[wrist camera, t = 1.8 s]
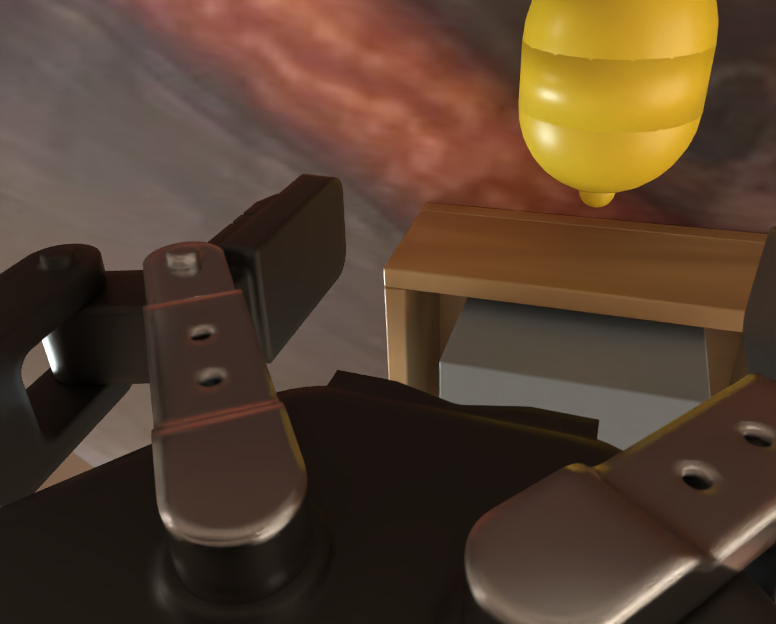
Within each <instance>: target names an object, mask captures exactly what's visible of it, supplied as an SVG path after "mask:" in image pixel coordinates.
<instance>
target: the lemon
mask: <svg viewBox="0 0 776 624" xmlns="http://www.w3.org/2000/svg"><path fill="white" fill-rule="evenodd" d="M718 21H719V20H718V10H717V1H716V0H532V3H531V5H530V8H529V11H528V14H527V17H526V21H525V27H524V34H523V39H522V55H521V72H520V89H519V122H520V126H521V130H522V134H523V138H524V140H525V142H526V144H527V146H528V148H529V150H530V152H531V154H532V156H533V157H534V159H535V160H536V161H537V162H538V164H539V165H540V166H541V167H542V168H543V169H544V170H545V171H546V172H547V173H548V174H550V175H551V176H552V177H554V178H555V179H556V180H558V181H559V182H561V183H563V184H565V185H568V186H570V187H573V188H575V189H578V190H579V195H580V198H581V199H582V201H583V202H584V203H585V204H586V205H588V206H591V207H602V206H605V205H607V204H608V203H609V202H610V201H611V200H612V199H613V197H614V195H615V193H616V192H621V191H625V190H630V189H634V188H637V187H639V186H641V185H643V184H645V183H647V182H649V181H651V180H653V179H655V178H657V177H659V176H660V175H661V174H662V173H664V172H665V171H666V170H667V169H669V168H670V167H671V166H672V165H673V164H674V163H675V162H676V161H677V160H678V159H679V157H680V156H681V155H682V154H683V153H684V151H685V150H686V149H687V148H688V146H689V144H690V142H691V141H692V139H693V137H694V135H695V133H696V131H697V128H698V125H699V122H700V118H701V115H702V113H703V108H704V103H705V98H706V93H707V88H708V83H709V78H710V73H711V68H712V63H713V58H714V53H715V48H716V43H717V31H718Z"/></svg>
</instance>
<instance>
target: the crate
mask: <svg viewBox="0 0 776 624" xmlns="http://www.w3.org/2000/svg"><path fill="white" fill-rule="evenodd" d="M767 236H768V234H761V233H751V232H740V231H729V230H718V229H707V228H697V227H686V226H675V225H664V224H653V223H643V222H632V221H621V220H610V219H600V218H589V217H578V216H567V215H556V214H546V213H535V212H524V211H513V210H502V209H492V208H481V207H470V206H459V205H448V204H438V203H426V204H425V205H424V207H423V208H422V210H421V212H420V214H419V215H418V217H417V218H416V220H415V221H414V223H413V224H412V226H411V227H410V229H409V230H408V232H407V233H406V235H405V236H404V238H403V239H402V241H401V242H400V244H399V245H398V247H397V248H396V250H395V251H394V253H393V254H392V256H391V257H390V259H389V260H388V262H387V263H386V265H385V267H384V285H385V288H384V291H385V312H386V332H387V353H388V373H389V380H393V381H398V382H400V383H403V384H405V385H408V386H411V387H413V388H416V389H418V390H421V391H423V392H426V393H429V394H431V395H434V396H436V397H439V398H440V360H441V357H442V355H443V353H444V350H445V348H446V346H447V343H448V341H449V339H450V336H451V334H452V332H453V329H454V327H455V325H456V322H457V320H458V318H459V315H460V313H461V311H462V309H463V306H464V304H465V302H466V299H467V297H471V298H479V299H487V300H495V301H502V302H510V303H518V304H526V305H533V306H541V307H549V308H557V309H564V310H572V311H580V312H588V313H595V314H603V315H611V316H619V317H626V318H634V319H642V320H650V321H657V322H665V323H673V324H681V325H688V326H696V327H704V329H705V340H706V350H707V361H708V372H709V382H710V393H711V397H713V396H714V395H716V394H718V393H719V392H721V391H723V390H724V389H726V388H728V387H729V386H731V385H733V384H734V383H736V382H738V381H739V380H741V379H743V378H744V377H746V376H748V375H749V374H748V368H747V362H746V356H745V350H744V344H743V335H742V333H743V321H744V315H745V310H746V306H747V302H748V299H749V295H750V292H751V289H752V285H753V282H754V278H755V275H756V272H757V268H758V265H759V262H760V258H761V255H762V252H763V248H764V245H765V242H766V239H767Z"/></svg>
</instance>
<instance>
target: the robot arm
mask: <svg viewBox="0 0 776 624" xmlns="http://www.w3.org/2000/svg"><path fill="white" fill-rule="evenodd" d="M345 256H346V241H345V222H344V202H343V189H342V184H341V182H340V180H339V179H338V178H336V177H327V176H318V175H309V174H302V175H300V176H299V177H298V178H297V179H296V180H295V181H293V182H292V183H291V184H290V185H289V186H287V187H286V188H285V189H284V190H283V191H282V192H280V193H279V194H275V195H273V196H270V197H268V198H265V199H263V200H261V201H258V202H256V203H255V204H254V205H253V206H251V207H250V208H249V209H248V210H246V211H245V212H244V215H240V216H239V217H238V218H237V219H235V220H234V221H233V224H229V225H228V226H227V227H226V228H225V229H223V230H222V231H221V232H220V233H218V234H217V235H216V236H215V237H214V238H212V239H211V240H210V241H209V242H208V243H206V242H181V243H176V244H171V245H168V246H165V247H162V248H160V249H157V250H155V251H154V252H152V253H151V254H149V255H148V256H147V257H146V258H145V260H144V262H143V270H129V271H105V268H104V264H103V260H102V256H101V253H100V251H99V250H98V249H97V248H95V247H93V246H90V245H85V244H64V245H57V246H53V247H49V248H45V249H42V250H39V251H37V252H35V253H32V254H30V255H29V256H27V257H25V258H24V259H22V260H21V261H19V262H18V263H16V264H15V265H13V266H12V267H10V268H9V269H7V270H6V271H4V272H3V273H1V274H0V624H776V226H773V227H772V228H771V230H770V231H769V234H768V236H767V239H766V242H765V245H764V248H763V252H762V255H761V258H760V262H759V265H758V268H757V272H756V275H755V278H754V282H753V285H752V289H751V292H750V295H749V299H748V302H747V306H746V310H745V315H744V321H743V333H742V335H743V344H744V350H745V356H746V362H747V368H748V374H749V375H748V376H746V377H744V378H743V379H741V380H739V381H738V382H736V383H734V384H733V385H731V386H729V387H728V388H726V389H724V390H723V391H721V392H719V393H718V394H716V395H714V396H713V397H711V398H709V399H708V400H706V401H704V402H703V403H701V404H700V405H698V406H696V407H695V408H693V409H691V410H690V411H688V412H686V413H685V414H683V415H681V416H680V417H678V418H676V419H675V420H673V421H671V422H670V423H668V424H666V425H665V426H663V427H661V428H660V429H658V430H656V431H655V432H653V433H651V434H650V435H648V436H646V437H645V438H643V439H642V440H640V441H638V442H637V443H635V444H633V445H632V446H630V447H628V448H627V449H625V450H621V449H619V448H617V447H615V446H613V445H611V444H609V443H606V442H604V441H601V440H599V439H597V436H598V427H599V419H593V418H588V417H583V416H577V415H572V414H567V413H562V412H556V411H551V410H546V409H541V408H535V407H530V406H491V405H461V404H455V403H452V402H449V401H447V400H444V399H442V398H439V397H436V396H434V395H431V394H429V393H426V392H423V391H421V390H418V389H416V388H413V387H411V386H408V385H405V384H403V383H400V382H398V381H393V380H388V379H383V378H377V377H372V376H367V375H361V374H356V373H351V372H346V371H340V370H337V372H336V373H335V375H334V376H333V378H332V379H331V381H330V382H329V384H328V385H327V386H312V387H302V388H295V389H290V390H285V391H281V392H277V393H276V391H275V388H274V385H273V382H272V379H271V376H270V373H269V370H268V367H267V365H266V363H271V362H272V361H273V360H274V358H275V357H276V356H277V355H278V353H279V352H280V351H281V350H282V348H283V347H284V346H285V345H286V343H287V342H288V341H289V339H290V338H291V337H292V336H293V334H294V333H295V332H296V331H297V329H298V328H299V327H300V326H301V324H302V323H303V322H304V321H305V319H306V318H307V317H308V316H309V314H310V313H311V312H312V310H313V309H314V308H315V307H316V305H317V304H318V303H319V302H320V300H321V299H322V298H323V297H324V295H325V294H326V293H327V292H328V290H329V289H330V288H331V287H332V285H333V284H334V283H335V282H336V280H337V279H338V278H339V276H340V274H341V272H342V270H343V266H344V262H345ZM41 341H42V342H43V345H44V348H45V351H46V354H47V357H48V360H49V363H50V366H51V368H49V369H48V370H47V371H46V372H45V373H44V374H43V375H42V376H40V377H39V378H38V379H37V380H36V381H35V382H34V383H33V384H32V385H30V386H29V387H28V388H27V389H26V390H25V387H24V384H23V381H22V377H21V369H22V364H23V361H24V359H25V357H26V355H27V354H28V352H29V351H30V350H31V349H32V348H33V347H35V346H36V345H37V344H38V343H39V342H41ZM141 383H150V391H151V402H152V413H153V424H154V429H153V430H152V432H151V438H152V444H150V445H148V446H145V447H143V448H141V449H138V450H136V451H133V452H131V453H129V454H126V455H124V456H122V457H119V458H117V459H114V460H112V461H110V462H107V463H105V464H102V465H100V466H98V467H95V468H93V469H91V470H88V471H86V472H83V473H81V474H79V475H76V476H74V477H72V478H69V479H67V480H64V481H62V482H60V483H58V484H55V485H53V486H51V487H48V488H45V489H43V490H41V491H38V492H36V490H37V489H38V488H39V487H40V486H41V485H42V484H43V483H44V482H45V481H46V480H47V478H48V477H49V476H50V475H51V474H52V473H53V472H54V471H55V470H56V469H57V468H58V466H59V465H60V464H61V463H62V462H63V461H64V460H65V459H66V458H67V457H68V456H69V455H70V453H71V452H72V451H73V450H74V449H75V448H76V447H77V446H78V445H79V444H80V443H81V442H82V440H83V439H84V438H85V437H86V436H87V435H88V434H89V433H90V432H91V431H92V430H93V428H94V427H95V426H96V425H97V424H98V423H99V422H100V421H101V420H102V419H103V418H104V417H105V415H106V414H107V413H108V412H109V411H110V410H111V409H112V408H113V407H114V406H115V405H116V403H117V402H118V401H119V400H120V399H121V398H122V397H123V396H124V395H125V394H126V393H127V391H128V390H129V389H130V387H131V385H132V384H141ZM35 492H36V493H35Z"/></svg>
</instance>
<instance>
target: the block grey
mask: <svg viewBox="0 0 776 624" xmlns="http://www.w3.org/2000/svg"><path fill="white" fill-rule="evenodd" d="M440 398H442V399H444V400H447V401H449V402H452V403H455V404H461V405H491V406H530V407H535V408H541V409H546V410H551V411H556V412H562V413H567V414H572V415H577V416H583V417H588V418H593V419H599V427H598V436H597V439H599V440H601V441H604V442H606V443H609V444H611V445H613V446H615V447H617V448H619V449H621V450H625V449H627V448H628V447H630V446H632V445H633V444H635V443H637V442H638V441H640V440H642V439H643V438H645V437H646V436H648V435H650V434H651V433H653V432H655V431H656V430H658V429H660V428H661V427H663V426H665V425H666V424H668V423H670V422H671V421H673V420H675V419H676V418H678V417H680V416H681V415H683V414H685V413H686V412H688V411H690V410H691V409H693V408H695V407H696V406H698V405H700V404H701V403H703V402H704V401H706V400H708V399H709V398H711V393H710V382H709V372H708V361H707V350H706V340H705V329H704V327H696V326H688V325H681V324H673V323H665V322H657V321H650V320H642V319H634V318H626V317H619V316H611V315H603V314H595V313H588V312H580V311H572V310H564V309H557V308H549V307H541V306H533V305H526V304H518V303H510V302H502V301H495V300H487V299H479V298H471V297H467V299H466V302H465V304H464V306H463V309H462V311H461V313H460V315H459V318H458V320H457V322H456V325H455V327H454V329H453V332H452V334H451V336H450V339H449V341H448V343H447V346H446V348H445V350H444V353H443V355H442V357H441V360H440Z"/></svg>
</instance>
